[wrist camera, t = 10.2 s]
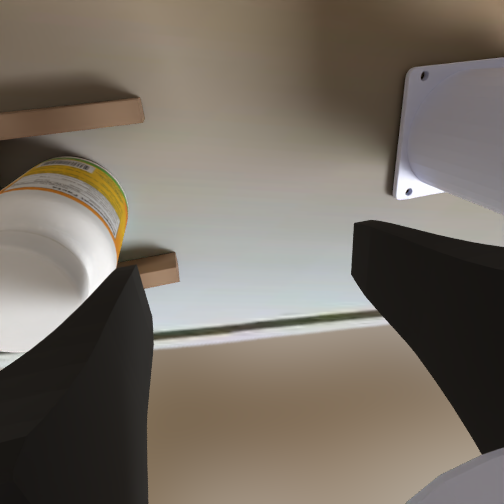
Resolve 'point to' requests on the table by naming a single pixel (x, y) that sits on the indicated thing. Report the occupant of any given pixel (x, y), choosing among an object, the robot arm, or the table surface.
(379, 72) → the table surface
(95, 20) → the table surface
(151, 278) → the bay
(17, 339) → the supplement bottle
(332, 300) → the table surface
